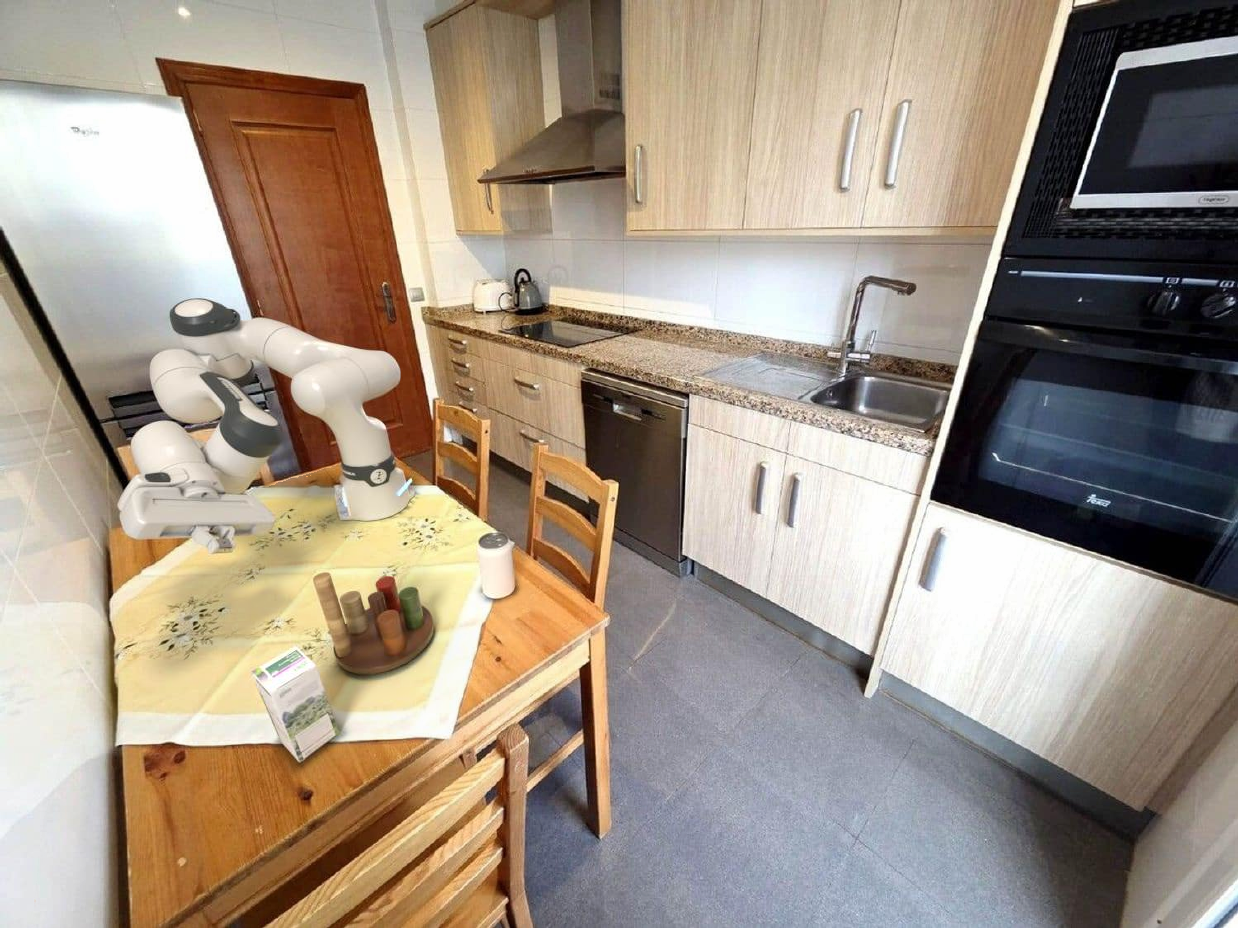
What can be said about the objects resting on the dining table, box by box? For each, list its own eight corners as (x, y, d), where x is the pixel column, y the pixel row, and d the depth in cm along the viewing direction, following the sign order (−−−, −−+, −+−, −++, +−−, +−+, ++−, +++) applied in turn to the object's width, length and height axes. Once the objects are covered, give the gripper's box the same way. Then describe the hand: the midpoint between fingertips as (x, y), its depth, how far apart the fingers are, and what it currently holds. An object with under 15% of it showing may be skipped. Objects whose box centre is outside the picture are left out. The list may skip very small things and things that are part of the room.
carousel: (322, 634, 88) (296, 557, 81) (411, 593, 98) (396, 521, 91) (353, 691, 78) (326, 608, 71) (449, 639, 88) (435, 561, 81)
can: (507, 602, 98) (502, 551, 93) (477, 597, 99) (470, 547, 94) (520, 581, 104) (515, 532, 99) (491, 576, 105) (485, 528, 100)
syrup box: (320, 713, 76) (294, 642, 70) (341, 734, 73) (316, 662, 66) (280, 742, 72) (248, 669, 65) (300, 765, 69) (269, 692, 62)
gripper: (246, 507, 95) (278, 559, 90) (102, 505, 76) (135, 571, 71) (262, 482, 94) (297, 533, 89) (122, 474, 75) (156, 538, 70)
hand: (224, 550), depth 80 cm, fingers closed
